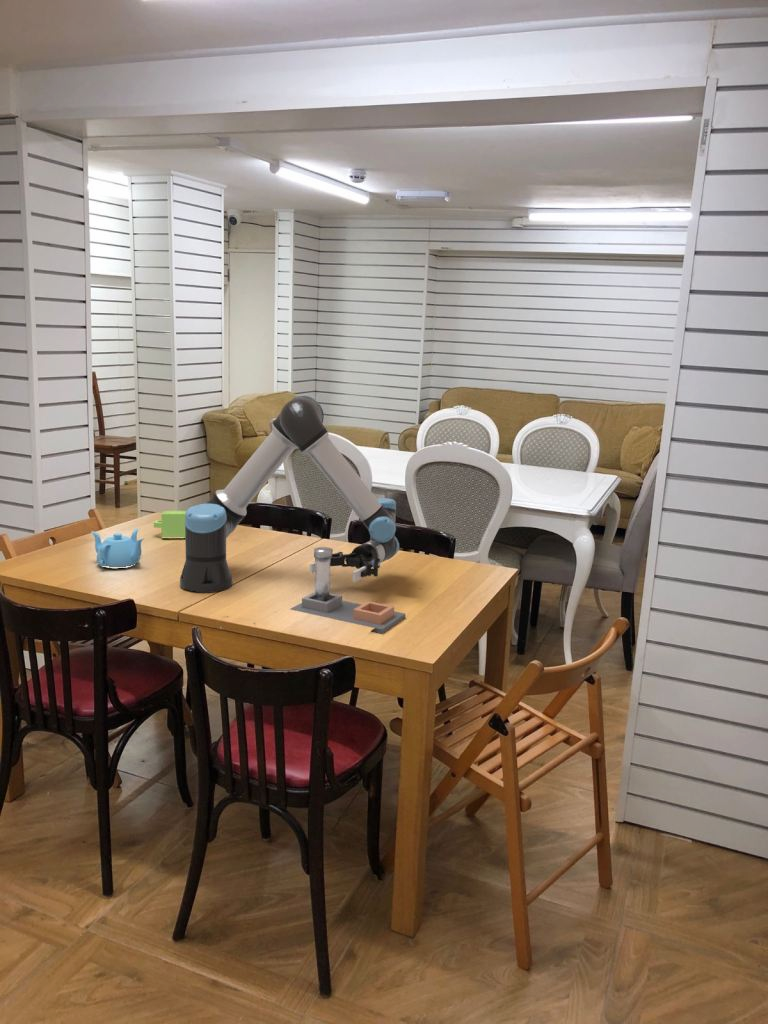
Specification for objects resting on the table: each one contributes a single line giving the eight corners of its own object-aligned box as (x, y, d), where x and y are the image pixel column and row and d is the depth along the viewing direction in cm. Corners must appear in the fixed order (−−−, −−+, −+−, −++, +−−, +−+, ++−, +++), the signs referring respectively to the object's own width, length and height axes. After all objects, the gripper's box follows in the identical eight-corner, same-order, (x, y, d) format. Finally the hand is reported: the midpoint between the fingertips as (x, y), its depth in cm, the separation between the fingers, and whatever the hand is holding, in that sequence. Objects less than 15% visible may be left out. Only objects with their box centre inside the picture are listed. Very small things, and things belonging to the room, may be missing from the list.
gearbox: (204, 534, 292) (204, 509, 290) (204, 539, 283) (205, 513, 281) (154, 534, 288) (154, 508, 286) (153, 539, 278) (153, 513, 277)
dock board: (289, 613, 210) (289, 600, 209) (316, 599, 222) (316, 586, 222) (381, 633, 198) (382, 620, 197) (405, 617, 210) (405, 604, 209)
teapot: (95, 573, 238) (94, 541, 236) (92, 560, 251) (90, 529, 249) (145, 569, 244) (144, 538, 242) (139, 556, 257) (138, 526, 255)
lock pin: (309, 606, 212) (310, 550, 209) (318, 601, 217) (320, 546, 213) (325, 610, 210) (326, 552, 207) (334, 605, 214) (336, 548, 211)
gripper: (404, 574, 229) (371, 593, 210) (331, 561, 239) (293, 578, 220) (405, 549, 227) (372, 567, 208) (331, 537, 238) (293, 552, 219)
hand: (331, 572), depth 214 cm, fingers open, 13 cm apart
